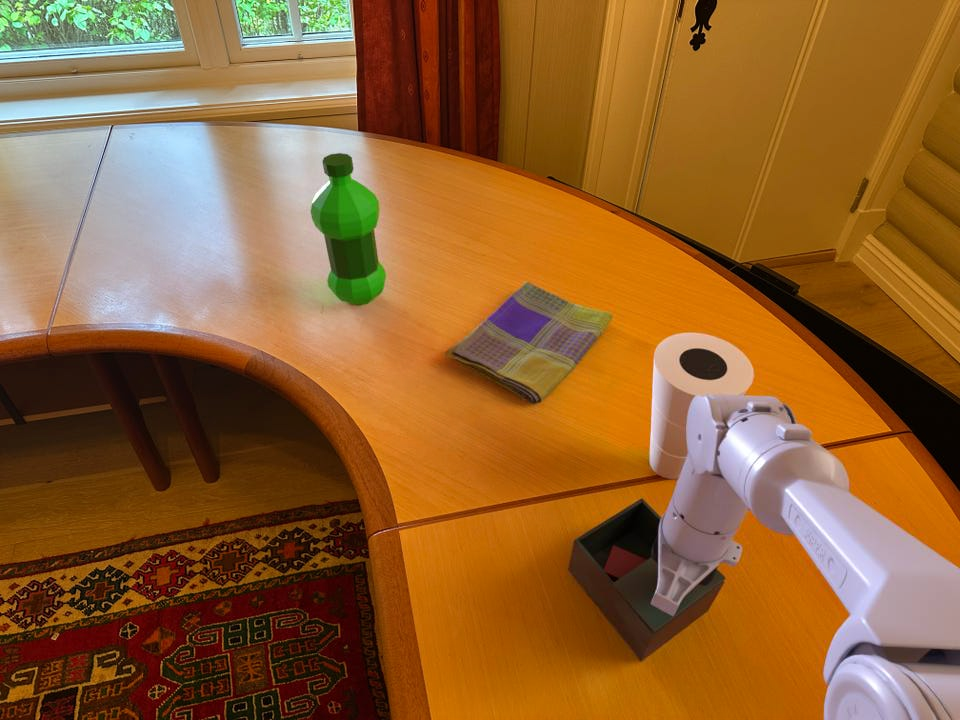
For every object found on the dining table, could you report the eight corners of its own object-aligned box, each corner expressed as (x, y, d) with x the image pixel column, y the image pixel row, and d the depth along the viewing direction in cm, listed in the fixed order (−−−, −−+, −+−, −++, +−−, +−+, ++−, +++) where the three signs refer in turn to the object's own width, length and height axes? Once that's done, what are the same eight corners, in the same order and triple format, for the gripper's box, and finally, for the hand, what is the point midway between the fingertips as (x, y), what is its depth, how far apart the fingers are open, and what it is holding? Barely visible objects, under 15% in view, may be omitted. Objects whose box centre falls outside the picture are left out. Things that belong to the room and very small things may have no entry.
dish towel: (616, 326, 100) (619, 312, 98) (534, 413, 86) (535, 399, 84) (528, 287, 108) (529, 274, 106) (440, 361, 93) (439, 347, 92)
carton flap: (725, 579, 60) (726, 577, 60) (654, 632, 56) (654, 630, 56) (681, 538, 64) (682, 536, 64) (612, 585, 60) (612, 583, 60)
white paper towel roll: (726, 467, 79) (772, 367, 66) (677, 513, 74) (718, 414, 61) (659, 420, 85) (690, 320, 72) (610, 460, 79) (634, 360, 67)
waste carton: (708, 610, 65) (724, 582, 60) (640, 662, 61) (653, 635, 57) (632, 528, 72) (642, 497, 68) (567, 569, 68) (573, 539, 64)
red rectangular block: (679, 590, 66) (685, 576, 64) (671, 618, 64) (677, 605, 62) (609, 558, 69) (613, 544, 67) (598, 584, 67) (602, 571, 65)
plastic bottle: (375, 319, 101) (354, 179, 84) (319, 307, 103) (287, 169, 86) (399, 285, 108) (384, 150, 91) (346, 275, 110) (321, 141, 93)
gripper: (731, 600, 44) (688, 671, 54) (777, 466, 53) (733, 546, 63) (640, 553, 47) (614, 628, 56) (699, 433, 56) (668, 514, 65)
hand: (672, 582), depth 60 cm, fingers closed, pressing on carton flap
